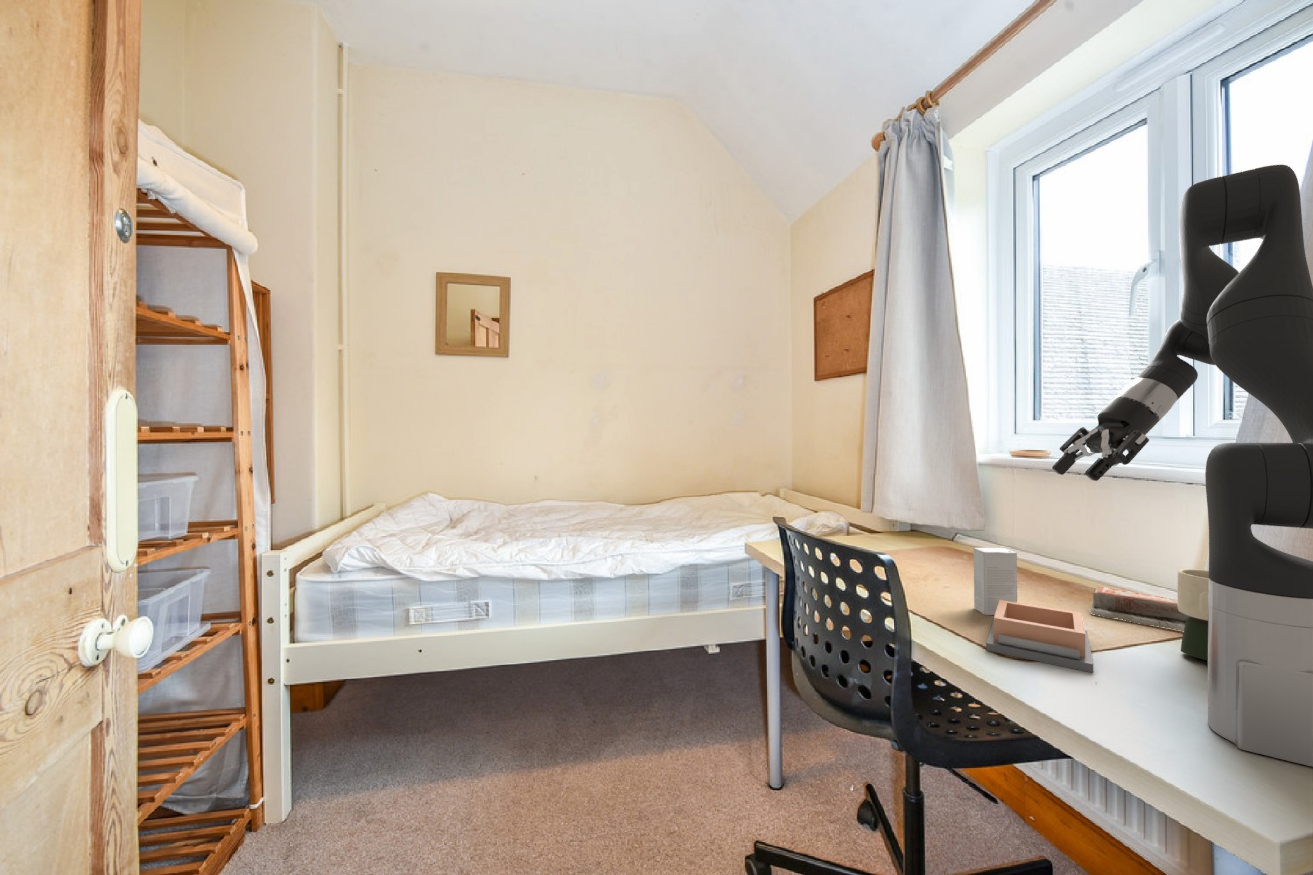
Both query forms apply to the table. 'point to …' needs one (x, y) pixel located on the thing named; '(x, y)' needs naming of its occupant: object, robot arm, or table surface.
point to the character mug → (1194, 611)
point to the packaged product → (1138, 608)
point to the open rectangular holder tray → (1041, 635)
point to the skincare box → (994, 578)
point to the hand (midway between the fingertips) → (1072, 474)
